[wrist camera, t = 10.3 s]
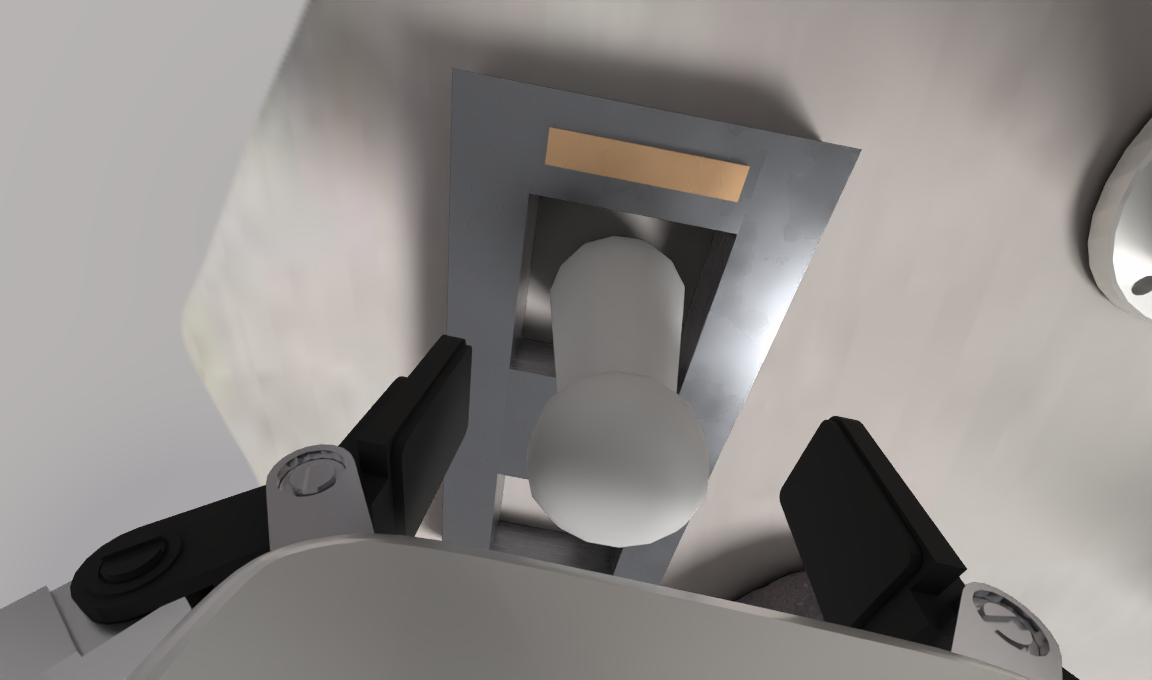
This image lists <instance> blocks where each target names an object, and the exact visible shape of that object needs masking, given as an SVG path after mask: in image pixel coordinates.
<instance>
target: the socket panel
mask: <svg viewBox="0 0 1152 680" xmlns="http://www.w3.org/2000/svg"><path fill="white" fill-rule="evenodd" d="M861 150H862V149H857V148H852V147H847V146H842V145H837V144H832V143H826V142H821V141H816V140H811V139H806V138H801V137H796V136H791V135H786V134H781V133H776V132H771V131H766V130H761V129H756V128H751V127H746V126H741V125H735V124H730V123H725V122H720V121H715V120H710V119H705V118H700V117H695V116H690V115H685V114H680V113H675V112H670V111H665V110H660V109H655V108H650V107H645V106H639V105H634V104H629V103H624V102H619V101H614V100H609V99H604V98H599V97H594V96H589V95H584V94H579V93H574V92H569V91H564V90H559V89H554V88H548V87H543V86H538V85H533V84H528V83H523V82H518V81H513V80H508V79H503V78H498V77H493V76H488V75H483V74H478V73H473V72H468V71H463V70H457V69H453V72H452V118H451V163H450V208H449V253H448V298H447V335H449V336H453V337H458V338H463V339H465V340H466V345H470V346H472V365H471V383H470V402H469V420H468V428H467V431H466V434H465V437H464V439H463V441H462V443H461V445H460V447H459V449H458V451H457V453H456V455H455V457H454V459H453V461H452V463H451V465H450V467H449V469H448V470H447V472H446V474H445V476H444V479H443V524H442V541H445V542H450V543H455V544H460V545H465V546H471V547H476V548H481V549H486V550H491V551H497V552H502V553H507V554H512V555H517V556H522V557H526V558H531V559H536V560H541V561H546V562H550V563H555V564H560V565H565V566H569V567H574V568H579V569H584V570H588V571H593V572H598V573H603V574H608V575H612V576H617V577H622V578H626V579H631V580H636V581H640V582H645V583H650V584H654V585H659V584H660V582H661V580H662V578H663V576H664V574H665V572H666V569H667V567H668V565H669V563H670V561H671V559H672V556H673V554H674V552H675V550H676V548H677V546H678V544H679V541H680V539H681V537H682V535H683V533H684V531H685V529H686V526H687V524H688V522H689V521H688V522H687V523H686V524H685V525H684V526H683V527H682V528H680V529H679V530H678V531H676V532H674V533H672V534H670V535H668V536H665V537H663V538H661V539H659V540H657V541H655V542H653V543H650V544H643V545H635V546H627V547H619V548H618V547H613V546H607V545H601V544H596V543H590V542H586V541H584V540H582V539H580V538H578V537H576V536H574V535H571V534H566V533H561V532H555V531H550V530H545V529H539V528H534V527H529V526H523V525H518V524H513V523H507V522H502V521H499V519H500V511H501V503H502V495H503V487H504V479H505V475H507V476H513V477H518V478H523V479H529V478H528V473H527V446H528V443H529V441H530V438H531V435H532V432H533V430H534V427H535V425H536V423H537V421H538V419H539V417H540V415H541V412H542V410H543V408H544V406H545V404H546V402H547V401H548V400H549V399H550V398H551V397H553V396H554V395H555V394H557V382H556V369H555V356H554V344H549V343H544V342H539V341H534V340H529V339H523V338H522V334H523V325H524V317H525V309H526V301H527V293H528V285H529V277H530V269H531V261H532V253H533V245H534V237H535V229H536V221H537V213H538V205H539V196H545V197H550V198H555V199H560V200H565V201H570V202H576V203H581V204H586V205H591V206H596V207H601V208H606V209H611V210H616V211H622V212H627V213H632V214H637V215H642V216H647V217H652V218H657V219H663V220H668V221H673V222H678V223H683V224H688V225H693V226H698V227H704V228H709V229H714V230H716V231H715V234H714V237H713V240H712V243H711V246H710V249H709V252H708V255H707V258H706V261H705V264H704V267H703V270H702V273H701V276H700V278H699V281H698V284H697V287H696V290H695V293H694V296H693V299H692V302H691V305H690V308H689V311H688V314H687V317H686V320H685V323H684V326H683V329H682V332H681V341H680V354H679V366H678V379H677V392H676V393H677V394H678V395H680V396H681V397H682V398H683V399H684V400H685V401H686V402H687V404H688V406H689V408H690V409H691V411H692V413H693V415H694V416H695V418H696V420H697V422H698V423H699V425H700V427H701V429H702V431H703V433H704V436H705V439H706V442H707V444H708V447H709V476H708V479H709V477H710V475H711V473H712V470H713V468H714V466H715V464H716V462H717V460H718V458H719V455H720V453H721V451H722V449H723V447H724V445H725V443H726V440H727V438H728V436H729V434H730V432H731V430H732V427H733V425H734V423H735V421H736V419H737V417H738V415H739V412H740V410H741V408H742V406H743V404H744V402H745V400H746V397H747V395H748V393H749V391H750V389H751V387H752V384H753V382H754V380H755V378H756V376H757V374H758V372H759V369H760V367H761V365H762V363H763V361H764V359H765V357H766V354H767V352H768V350H769V348H770V346H771V344H772V341H773V339H774V337H775V335H776V333H777V331H778V329H779V326H780V324H781V322H782V320H783V318H784V316H785V314H786V311H787V309H788V307H789V305H790V303H791V301H792V298H793V296H794V294H795V292H796V290H797V288H798V286H799V283H800V281H801V279H802V277H803V275H804V273H805V271H806V268H807V266H808V264H809V262H810V260H811V258H812V255H813V253H814V251H815V249H816V247H817V245H818V243H819V240H820V238H821V236H822V234H823V232H824V230H825V228H826V225H827V223H828V221H829V219H830V217H831V215H832V213H833V210H834V208H835V206H836V204H837V202H838V200H839V197H840V195H841V193H842V191H843V189H844V187H845V185H846V182H847V180H848V178H849V176H850V174H851V172H852V170H853V167H854V165H855V163H856V161H857V159H858V157H859V154H860V152H861Z"/></svg>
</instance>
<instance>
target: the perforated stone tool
mask: <svg viewBox="0 0 1152 680" xmlns="http://www.w3.org/2000/svg"><path fill="white" fill-rule="evenodd" d="M734 602H738V603H743V604H747V605H752V606H756V607H761V608H765V609H770V610H775V611H779V612H784V613H788V614H793V615H797V616H802V617H806V618H811V619H815V620H820V621H824V618H823V615H822V613H821V610H820V607H819V605H818V602H817V599H816V597H815V594H814V591H813V589H812V586H811V583H810V581H809V578H808V575H807V573H806V571H803V572H797V573H793V574H790V575H787V576H784V577H782V578H780V579H777V580H775V581H774V582H772V583H771V584H769V585H768V586H766V587H763V588H759V589H757V590H754V591H752V592H751V593H749V594H747V595H746V596H744V597H742V598H740V599H738V600H736V601H734ZM824 622H825V621H824Z"/></svg>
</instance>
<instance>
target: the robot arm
mask: <svg viewBox="0 0 1152 680" xmlns="http://www.w3.org/2000/svg"><path fill="white" fill-rule="evenodd" d="M1088 252H1089V266H1090V269H1091V271H1092V274H1093V276H1094V279H1095V281H1096V284H1097V286H1098V288H1099V289H1100V290H1101V291H1102V292H1103V293H1104V295H1105V296H1106V297H1107V298H1108V299H1109V300H1110V302H1111V303H1113V304H1115V305H1116V306H1118V307H1120V308H1121V309H1123V310H1124V311H1126V312H1128V313H1129V314H1131V315H1134V316H1137V317H1139V318H1142V319H1145V320H1147V321H1150V322H1152V118H1151V119H1150V120H1149V121H1148V123H1147V124H1146V125H1145V126H1144V128H1143V129H1142V130H1141V131H1140V133H1139V134H1138V135H1137V136H1136V138H1135V139H1134V140H1133V141H1132V143H1131V144H1130V145H1129V146H1128V148H1127V149H1126V150H1125V152H1124V154H1123V155H1122V157H1121V159H1120V160H1119V162H1118V163H1117V165H1116V167H1115V168H1114V170H1113V172H1112V173H1111V175H1110V177H1109V178H1108V180H1107V182H1106V184H1105V186H1104V188H1103V191H1102V193H1101V196H1100V198H1099V201H1098V203H1097V206H1096V208H1095V211H1094V213H1093V217H1092V222H1091V228H1090V233H1089V238H1088ZM471 365H472V346H470V345H466V340H465V339H463V338H458V337H453V336H449V335H442V336H441V337H440V338H439V340H438V341H437V342H436V343H435V345H434V346H433V347H432V348H431V349H430V351H429V352H428V353H427V354H426V356H425V357H424V358H423V359H422V360H421V362H420V363H419V364H418V365H417V367H416V368H415V369H414V370H413V371H412V373H411V374H410V375H409V376H408V378H407V377H403V376H401V377H398V378H397V379H396V380H395V381H394V382H393V383H392V384H391V385H390V386H389V388H388V389H387V390H386V391H385V392H384V393H383V395H382V396H381V397H380V398H379V399H378V400H377V402H376V403H375V404H374V405H373V406H372V407H371V409H370V410H369V411H368V412H367V413H366V414H365V416H364V417H363V418H362V419H361V420H360V421H359V423H358V424H357V425H356V426H355V427H354V428H353V430H352V431H351V432H350V433H349V434H348V435H347V437H346V438H345V439H344V440H343V441H342V442H341V444H340V445H339V446H335V445H322V444H321V445H314V446H308V447H305V448H302V449H299V450H297V451H294V452H292V453H291V454H289V455H287V456H285V457H284V458H282V459H281V460H280V461H279V462H278V463H277V464H276V465H274V466H273V468H272V470H271V471H270V473H269V474H268V476H267V481H266V485H264V486H261V487H258V488H255V489H252V490H249V491H247V492H243V493H240V494H237V495H234V496H231V497H228V498H225V499H222V500H219V501H216V502H213V503H210V504H208V505H204V506H202V507H199V508H196V509H193V510H190V511H187V512H184V513H181V514H178V515H175V516H172V517H169V518H166V519H163V520H160V521H157V522H154V523H151V524H148V525H145V526H142V527H139V528H136V529H134V530H132V531H129V532H127V533H124V534H122V535H120V536H118V537H116V538H115V539H113V540H112V541H110V542H108V543H106V544H105V545H103V546H102V547H100V548H99V549H98V550H97V551H96V552H94V553H93V554H92V555H91V556H90V557H88V558H87V559H86V560H85V562H84V563H83V564H82V565H81V566H80V568H79V569H78V570H77V572H76V573H75V575H74V577H73V580H72V581H70V582H68V583H66V584H64V585H63V586H61V587H59V588H57V589H55V590H53V591H50V590H49V588H48V587H47V586H45V587H42V588H40V589H39V590H37V591H35V592H33V593H31V594H29V595H27V596H25V597H23V598H21V599H19V600H17V601H15V602H14V603H11V604H10V605H8V606H6V607H4V608H2V609H0V680H125V679H126V680H1079V679H1078V678H1076V677H1075V676H1074V675H1072V674H1071V673H1070V672H1068V671H1067V670H1065V669H1064V668H1063V667H1062V657H1061V653H1060V649H1059V645H1058V644H1057V642H1056V640H1055V639H1054V637H1053V635H1052V634H1051V632H1050V631H1049V630H1048V629H1047V628H1046V626H1045V625H1044V624H1043V623H1042V622H1041V621H1040V619H1039V618H1037V617H1036V616H1035V615H1034V614H1033V613H1032V612H1031V611H1030V610H1029V609H1028V608H1026V607H1025V606H1024V605H1023V604H1021V603H1020V602H1018V601H1017V600H1016V599H1014V598H1013V597H1012V596H1010V595H1008V594H1006V593H1004V592H1003V591H1001V590H999V589H997V588H995V587H992V586H990V585H987V584H984V583H977V582H972V583H969V584H966V585H964V583H963V582H962V580H961V579H960V577H959V576H960V575H961V574H962V573H963V572H964V571H966V570H967V568H966V567H965V565H964V564H963V563H962V561H961V560H960V558H959V557H958V556H957V554H956V553H955V552H954V550H953V549H952V547H951V546H950V545H949V543H948V542H947V540H946V539H945V538H944V536H943V535H942V534H941V532H940V531H939V529H938V528H937V527H936V525H935V524H934V522H933V521H932V520H931V518H930V517H929V516H928V514H927V513H926V511H925V510H924V509H923V507H922V506H921V504H920V503H919V502H918V500H917V499H916V498H915V496H914V495H913V493H912V492H911V491H910V489H909V488H908V486H907V485H906V484H905V482H904V481H903V480H902V478H901V477H900V475H899V474H898V473H897V471H896V470H895V468H894V467H893V466H892V464H891V463H890V462H889V460H888V459H887V457H886V456H885V455H884V453H883V452H882V450H881V449H880V448H879V446H878V445H877V444H876V442H875V441H874V439H873V438H872V437H871V435H870V434H869V432H868V431H867V430H866V428H865V427H864V426H863V424H862V423H861V422H860V421H857V420H853V419H848V418H843V417H839V416H833V417H831V418H830V419H829V420H824V421H823V422H822V423H821V424H820V426H819V428H818V429H817V431H816V433H815V434H814V436H813V437H812V439H811V441H810V442H809V444H808V446H807V447H806V449H805V451H804V452H803V454H802V456H801V457H800V459H799V460H798V462H797V464H796V465H795V467H794V469H793V470H792V472H791V474H790V475H789V477H788V478H787V480H786V482H785V483H784V485H783V487H782V489H781V491H780V503H781V506H782V508H783V511H784V514H785V516H786V519H787V522H788V525H789V527H790V530H791V533H792V535H793V538H794V541H795V543H796V546H797V549H798V551H799V554H800V557H801V559H802V562H803V565H804V567H805V570H806V573H807V575H808V578H809V581H810V583H811V586H812V589H813V591H814V594H815V597H816V599H817V602H818V605H819V607H820V610H821V613H822V615H823V618H824V621H825V622H824V621H820V620H815V619H811V618H806V617H802V616H797V615H793V614H788V613H784V612H779V611H775V610H770V609H765V608H761V607H756V606H752V605H747V604H743V603H738V602H733V601H729V600H724V599H719V598H715V597H710V596H706V595H701V594H696V593H692V592H687V591H682V590H678V589H673V588H668V587H664V586H659V585H654V584H650V583H645V582H640V581H636V580H631V579H626V578H622V577H617V576H612V575H608V574H603V573H598V572H593V571H588V570H584V569H579V568H574V567H569V566H565V565H560V564H555V563H550V562H546V561H541V560H536V559H531V558H526V557H522V556H517V555H512V554H507V553H502V552H497V551H491V550H486V549H481V548H476V547H471V546H465V545H460V544H455V543H450V542H445V541H439V540H432V539H425V538H418V537H414V536H415V534H416V532H417V530H418V528H419V526H420V524H421V522H422V520H423V518H424V516H425V514H426V512H427V510H428V508H429V506H430V504H431V502H432V500H433V498H434V496H435V494H436V492H437V490H438V488H439V486H440V484H441V482H442V480H443V478H444V476H445V474H446V472H447V470H448V469H449V467H450V465H451V463H452V461H453V459H454V457H455V455H456V453H457V451H458V449H459V447H460V445H461V443H462V441H463V439H464V437H465V434H466V431H467V428H468V420H469V402H470V383H471Z"/></svg>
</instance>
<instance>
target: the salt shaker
mask: <svg viewBox="0 0 1152 680" xmlns="http://www.w3.org/2000/svg"><path fill="white" fill-rule="evenodd" d="M684 291H685V286H684V284H683V282H682V280H681V278H680V276H679V274H678V272H677V271H676V269H675V267H674V265H673V263H672V261H671V260H670V259H669V258H668V257H666V256H665V255H664V254H662V253H661V252H660V251H658V250H657V249H656V248H655V247H653V246H652V245H651V244H649V243H648V242H647V241H645V240H641V239H634V238H628V237H621V236H611V237H607V238H603V239H599V240H595V241H591V242H587V243H584V244H583V245H582V246H581V247H580V248H579V249H578V250H577V251H576V252H575V253H574V254H573V255H571V256H570V257H569V258H568V259H567V260H566V261H565V262H564V263H563V264H562V265H561V266H560V268H559V270H558V273H557V275H556V278H555V280H554V282H553V285H552V287H551V290H550V304H551V317H552V330H553V343H554V356H555V369H556V382H557V394H555V395H554V396H553V397H551V398H550V399H549V400H548V401H547V402H546V404H545V406H544V408H543V410H542V412H541V415H540V417H539V419H538V421H537V423H536V425H535V427H534V430H533V432H532V435H531V438H530V441H529V443H528V446H527V473H528V478H529V483H530V488H531V493H532V497H533V498H534V500H535V501H536V502H537V503H538V504H539V506H540V507H541V508H542V509H543V511H544V512H545V513H546V514H547V515H548V517H549V518H550V519H551V520H552V521H553V522H554V523H555V524H556V525H557V526H558V527H559V528H561V529H563V530H565V531H567V532H569V533H571V534H572V535H574V536H576V537H578V538H580V539H582V540H584V541H586V542H590V543H596V544H601V545H607V546H613V547H618V548H619V547H627V546H635V545H643V544H650V543H653V542H655V541H657V540H659V539H661V538H663V537H665V536H668V535H670V534H672V533H674V532H676V531H678V530H679V529H680V528H682V527H683V526H684V525H685V524H686V523H687V522H688V521H689V520H690V518H691V517H692V516H693V515H694V513H695V512H696V511H697V510H698V508H699V507H700V506H701V505H702V503H703V502H704V501H705V500H706V493H707V484H708V476H709V447H708V444H707V442H706V439H705V436H704V433H703V431H702V429H701V427H700V425H699V423H698V422H697V420H696V418H695V416H694V415H693V413H692V411H691V409H690V408H689V406H688V404H687V402H686V401H685V400H684V399H683V398H682V397H681V396H680V395H678V394H677V393H676V392H677V379H678V366H679V354H680V341H681V328H682V319H683V306H684Z"/></svg>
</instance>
